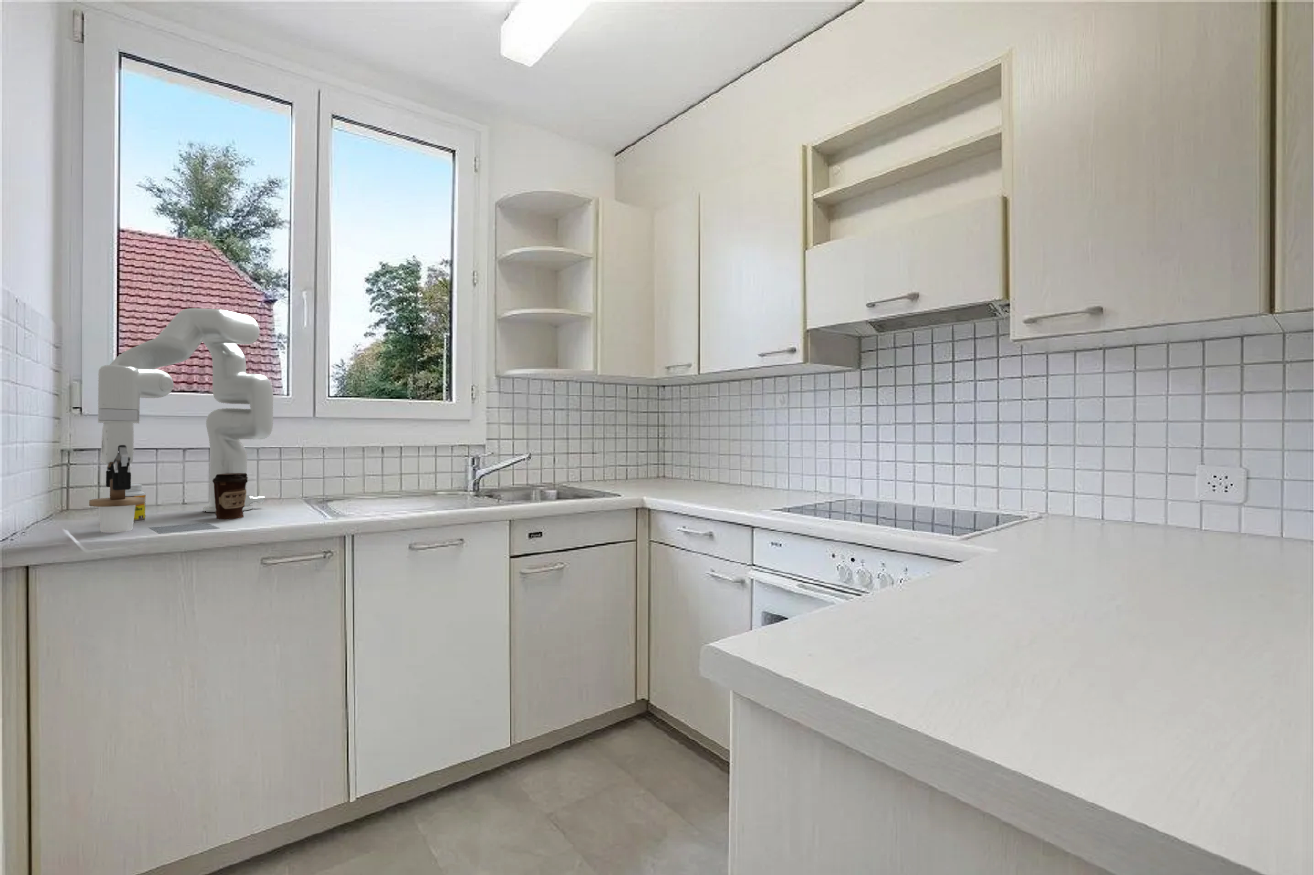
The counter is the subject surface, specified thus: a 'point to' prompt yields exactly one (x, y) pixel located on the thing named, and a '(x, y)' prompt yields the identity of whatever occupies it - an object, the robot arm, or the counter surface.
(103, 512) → the white cup
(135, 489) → the supplement bottle
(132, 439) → the robot arm
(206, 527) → the mat
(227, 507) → the coffee cup
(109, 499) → the lid
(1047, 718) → the counter surface
